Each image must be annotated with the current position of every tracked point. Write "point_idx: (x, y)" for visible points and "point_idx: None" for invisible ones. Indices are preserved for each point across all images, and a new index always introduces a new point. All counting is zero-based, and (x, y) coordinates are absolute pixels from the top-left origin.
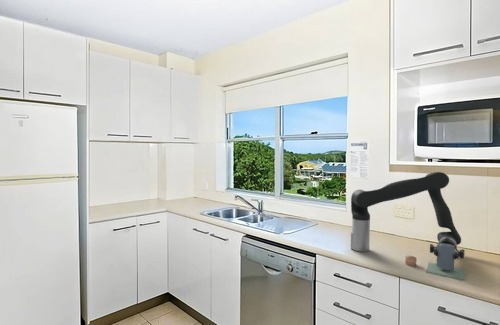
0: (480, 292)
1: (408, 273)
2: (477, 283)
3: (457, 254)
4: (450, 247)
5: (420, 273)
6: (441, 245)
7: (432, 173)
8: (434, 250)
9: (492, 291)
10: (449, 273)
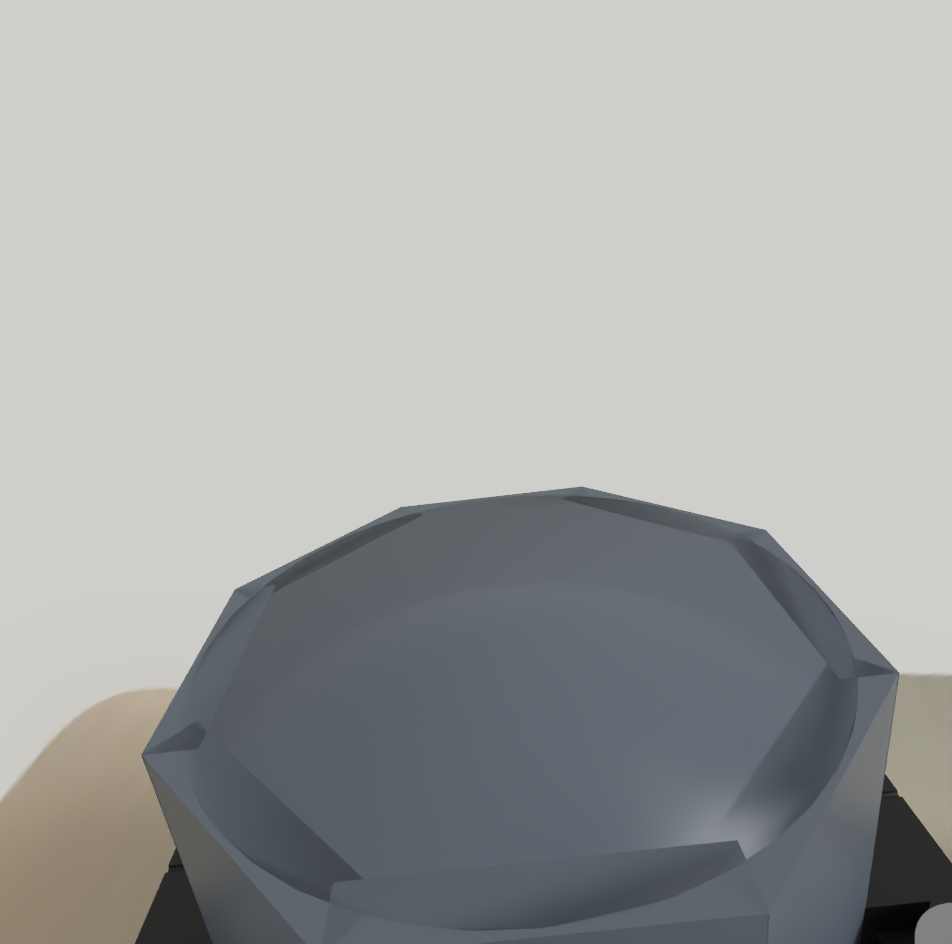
0: None
1: (909, 674)
2: (91, 934)
3: (179, 892)
4: (367, 539)
5: None
6: (632, 538)
7: None
8: (900, 818)
9: (38, 784)
10: None
